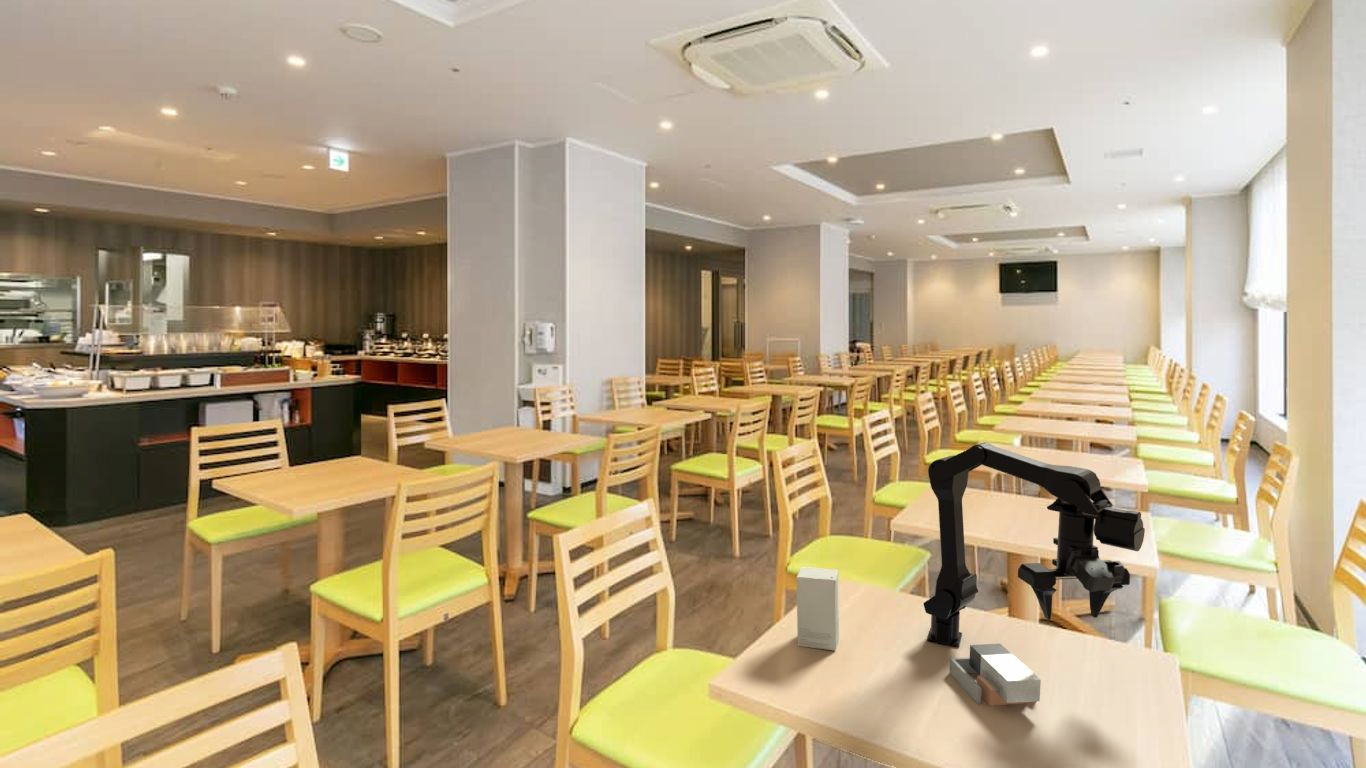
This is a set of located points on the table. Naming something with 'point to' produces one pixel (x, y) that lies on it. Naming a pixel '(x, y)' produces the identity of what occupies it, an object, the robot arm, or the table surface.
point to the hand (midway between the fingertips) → (1070, 617)
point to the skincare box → (817, 608)
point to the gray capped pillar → (1005, 673)
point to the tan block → (991, 693)
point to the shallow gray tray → (965, 677)
